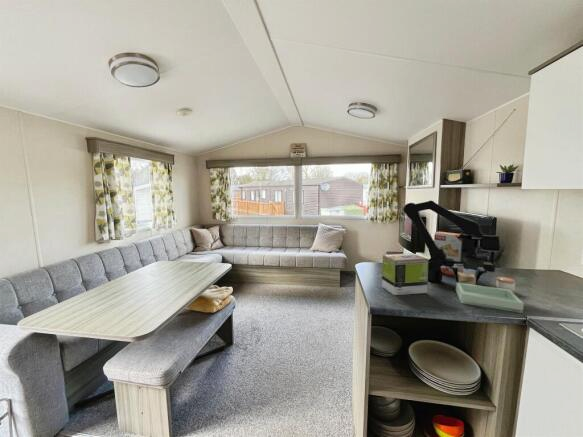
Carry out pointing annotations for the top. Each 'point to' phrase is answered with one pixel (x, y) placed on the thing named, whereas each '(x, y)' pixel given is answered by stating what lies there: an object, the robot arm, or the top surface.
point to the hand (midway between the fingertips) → (465, 283)
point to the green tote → (489, 297)
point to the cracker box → (449, 249)
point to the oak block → (466, 278)
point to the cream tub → (506, 283)
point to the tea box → (405, 274)
